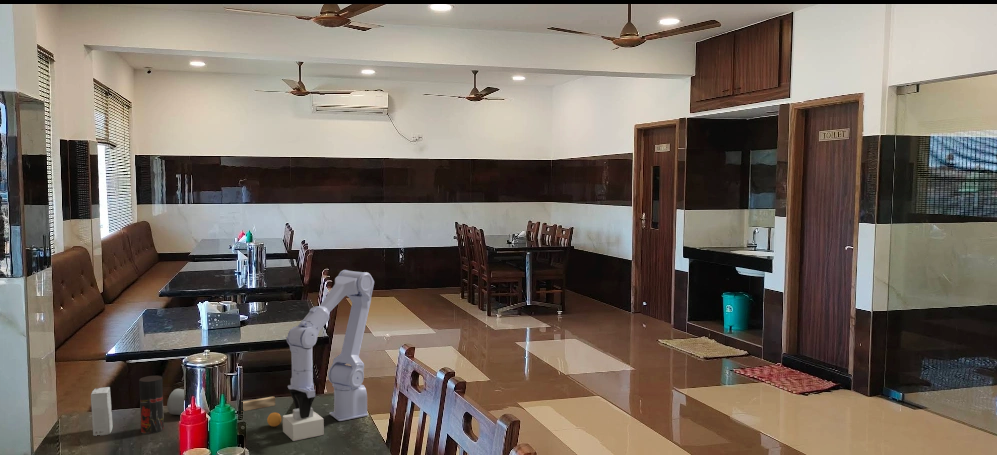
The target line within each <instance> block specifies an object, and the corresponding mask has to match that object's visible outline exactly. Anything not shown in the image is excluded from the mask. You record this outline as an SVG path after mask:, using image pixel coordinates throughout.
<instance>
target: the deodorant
mask: <svg viewBox="0 0 997 455" xmlns="http://www.w3.org/2000/svg"><path fill="white" fill-rule="evenodd" d="M138 381H139V386H138V387H139V409H140V410H139V412H140V413H139V414H140V415H139V416H140V433H142V434H148V435H149V434H155V433H160V432H162V431H164V429H165V428H164V420H165V419H164V395H163V394H164V393H163V391H164V390H163V376H161V375H148V376H144V377H141V378H139V379H138Z"/></svg>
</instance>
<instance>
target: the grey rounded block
mask: <svg viewBox="0 0 997 455" xmlns="http://www.w3.org/2000/svg"><path fill="white" fill-rule="evenodd" d="M184 390H185V389H183V388H182V389H181V388H175V389H173V391H171V393H170V394H169V397H168V398H167V404H166V407H167V411H168V413H169V414H171V415H178V416H181V415H180V414H181V413H182V412H183V411H184V407H183V405H184Z"/></svg>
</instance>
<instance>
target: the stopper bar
mask: <svg viewBox="0 0 997 455" xmlns="http://www.w3.org/2000/svg"><path fill="white" fill-rule="evenodd" d="M242 402H243V410H244V411H243V412H246V411H251V410H255V409H256V410H257V409H262V408H269V407H274V406H276V397H275V396H269V397H262V398H256V399H251V400H245V401H242Z"/></svg>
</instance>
